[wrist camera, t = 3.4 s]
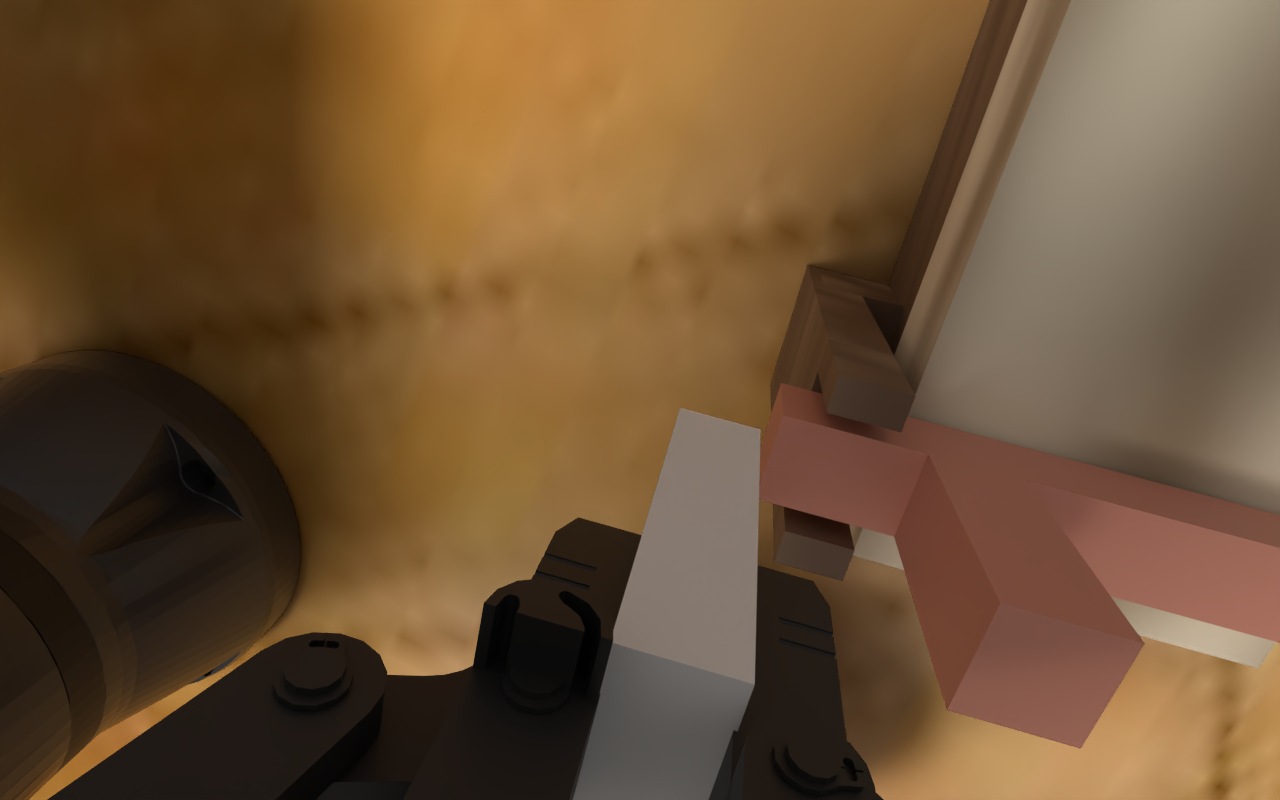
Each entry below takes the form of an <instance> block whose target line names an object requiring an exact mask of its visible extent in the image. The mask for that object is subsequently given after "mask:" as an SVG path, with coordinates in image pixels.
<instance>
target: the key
mask: <svg viewBox="0 0 1280 800" xmlns="http://www.w3.org/2000/svg"><path fill="white" fill-rule="evenodd" d="M759 500H762V501H766V502H769V503H773V504H777V505H780V506H784V507H788V508H791V509H795V510H799V511H802V512H806V513H809V514H813V515H817V516H820V517H824V518H828V519H831V520H835V521H839V522H842V523H846V524H849V525H853V526H857V527H860V528H864V529H868V530H871V531H875V532H879V533H882V534H886V535H889V536H893V537H894V538H895V541H896V545H897V548H898V551H899V554H900V558H901V561H902V564H903V567H904V571H905V574H906V577H907V581H908V584H909V587H910V590H911V594H912V597H913V600H914V603H915V607H916V610H917V613H918V616H919V620H920V623H921V626H922V630H923V633H924V636H925V639H926V643H927V646H928V649H929V652H930V656H931V659H932V662H933V665H934V669H935V672H936V675H937V679H938V682H939V685H940V688H941V692H942V695H943V698H944V701H945V705H946V708H947V710H949V711H952V712H956V713H959V714H963V715H966V716H970V717H973V718H977V719H980V720H984V721H987V722H990V723H994V724H997V725H1001V726H1004V727H1008V728H1011V729H1015V730H1018V731H1022V732H1025V733H1029V734H1032V735H1036V736H1039V737H1043V738H1046V739H1049V740H1053V741H1056V742H1060V743H1063V744H1067V745H1070V746H1074V747H1077V748H1081V747H1082V746H1083V744H1084V742H1085V741H1086V739H1087V737H1088V736H1089V734H1090V733H1091V731H1092V729H1093V728H1094V726H1095V724H1096V723H1097V721H1098V719H1099V718H1100V716H1101V714H1102V713H1103V711H1104V709H1105V708H1106V706H1107V704H1108V703H1109V701H1110V700H1111V698H1112V696H1113V695H1114V693H1115V691H1116V690H1117V688H1118V686H1119V685H1120V683H1121V681H1122V680H1123V678H1124V676H1125V675H1126V673H1127V672H1128V670H1129V668H1130V667H1131V665H1132V663H1133V662H1134V660H1135V658H1136V657H1137V655H1138V653H1139V652H1140V650H1141V648H1142V647H1143V645H1144V644H1145V643H1144V642H1143V641H1142V639H1141V638H1140V636H1139V635H1138V634H1137V632H1136V631H1135V630H1134V628H1133V627H1132V625H1131V624H1130V623H1129V621H1128V620H1127V618H1126V617H1125V616H1124V614H1123V613H1122V611H1121V610H1120V609H1119V607H1118V606H1117V604H1116V603H1115V602H1114V600H1113V599H1112V598H1111V597H1115V598H1119V599H1122V600H1126V601H1129V602H1133V603H1137V604H1140V605H1144V606H1148V607H1151V608H1155V609H1159V610H1162V611H1166V612H1169V613H1173V614H1177V615H1180V616H1184V617H1188V618H1191V619H1195V620H1199V621H1202V622H1206V623H1209V624H1213V625H1217V626H1220V627H1224V628H1228V629H1231V630H1235V631H1239V632H1242V633H1246V634H1249V635H1253V636H1257V637H1260V638H1264V639H1268V640H1271V641H1275V642H1279V643H1280V515H1278V514H1275V513H1271V512H1267V511H1263V510H1260V509H1256V508H1252V507H1248V506H1244V505H1241V504H1237V503H1233V502H1229V501H1226V500H1222V499H1218V498H1214V497H1210V496H1207V495H1203V494H1199V493H1195V492H1192V491H1188V490H1184V489H1180V488H1176V487H1173V486H1169V485H1165V484H1161V483H1158V482H1154V481H1150V480H1146V479H1142V478H1139V477H1135V476H1131V475H1127V474H1123V473H1120V472H1116V471H1112V470H1108V469H1105V468H1101V467H1097V466H1093V465H1089V464H1086V463H1082V462H1078V461H1074V460H1071V459H1067V458H1063V457H1059V456H1055V455H1052V454H1048V453H1044V452H1040V451H1037V450H1033V449H1029V448H1025V447H1021V446H1018V445H1014V444H1010V443H1006V442H1003V441H999V440H995V439H991V438H987V437H984V436H980V435H976V434H972V433H969V432H965V431H961V430H957V429H953V428H950V427H946V426H942V425H938V424H935V423H931V422H927V421H923V420H919V419H916V418H912V417H907V419H906V422H905V424H904V427H903V429H902V432H897V431H893V430H890V429H886V428H882V427H878V426H875V425H871V424H867V423H863V422H859V421H856V420H852V419H848V418H844V417H841V416H837V415H833V414H829V413H826V409H825V404H824V399H823V394H821V393H817V392H814V391H810V390H806V389H802V388H798V387H795V386H791V385H787V384H783V383H781V385H780V388H779V391H778V394H777V397H776V400H775V403H774V407H773V410H772V413H771V416H770V419H769V422H768V425H767V429H766V432H765V435H764V438H763V441H762V444H761V447H760V477H759Z"/></svg>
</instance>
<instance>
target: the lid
mask: <svg viewBox="0 0 1280 800" xmlns="http://www.w3.org/2000/svg"><path fill="white" fill-rule="evenodd" d="M894 356H895V358H896V360H897V362H898V364H899V366H900V367H901V369H902V371H903V373H904V375H905V377H906V379H907V380H908V382H909V384H910V386H911V388H912V390H913V392H914V393H915V395H916V396H915V399H914V401H913V404H912V407H911V409H910V412H909V414H908V417H912V418H916V419H919V420H923V421H927V422H931V423H935V424H938V425H942V426H946V427H950V428H953V429H957V430H961V431H965V432H969V433H972V434H976V435H980V436H984V437H987V438H991V439H995V440H999V441H1003V442H1006V443H1010V444H1014V445H1018V446H1021V447H1025V448H1029V449H1033V450H1037V451H1040V452H1044V453H1048V454H1052V455H1055V456H1059V457H1063V458H1067V459H1071V460H1074V461H1078V462H1082V463H1086V464H1089V465H1093V466H1097V467H1101V468H1105V469H1108V470H1112V471H1116V472H1120V473H1123V474H1127V475H1131V476H1135V477H1139V478H1142V479H1146V480H1150V481H1154V482H1158V483H1161V484H1165V485H1169V486H1173V487H1176V488H1180V489H1184V490H1188V491H1192V492H1195V493H1199V494H1203V495H1207V496H1210V497H1214V498H1218V499H1222V500H1226V501H1229V502H1233V503H1237V504H1241V505H1244V506H1248V507H1252V508H1256V509H1260V510H1263V511H1267V512H1271V513H1275V514H1278V515H1280V0H1027V3H1026V6H1025V8H1024V11H1023V14H1022V16H1021V19H1020V22H1019V24H1018V27H1017V30H1016V32H1015V35H1014V38H1013V40H1012V43H1011V46H1010V48H1009V51H1008V54H1007V56H1006V59H1005V62H1004V64H1003V67H1002V70H1001V72H1000V75H999V78H998V80H997V83H996V86H995V88H994V91H993V94H992V96H991V99H990V102H989V104H988V107H987V110H986V112H985V115H984V118H983V120H982V123H981V126H980V128H979V131H978V134H977V136H976V139H975V142H974V144H973V147H972V150H971V152H970V155H969V158H968V160H967V163H966V166H965V168H964V171H963V174H962V176H961V179H960V182H959V184H958V187H957V190H956V192H955V195H954V198H953V200H952V203H951V206H950V208H949V211H948V214H947V216H946V219H945V222H944V224H943V227H942V230H941V232H940V235H939V238H938V240H937V243H936V246H935V248H934V251H933V254H932V256H931V259H930V262H929V264H928V267H927V270H926V272H925V275H924V278H923V280H922V283H921V286H920V288H919V291H918V294H917V296H916V299H915V302H914V304H913V307H912V310H911V312H910V315H909V318H908V320H907V323H906V326H905V328H904V331H903V334H902V336H901V339H900V342H899V344H898V347H897V350H896V352H895V355H894ZM850 530H851V535H852V540H853V545H854V550H855V551H854V553H853V556H855V557H859V558H862V559H866V560H869V561H873V562H877V563H880V564H884V565H887V566H891V567H895V568H898V569H902V570H904V567H903V564H902V561H901V558H900V554H899V551H898V548H897V545H896V541H895V538H894V537H893V536H889V535H886V534H882V533H879V532H875V531H871V530H868V529H864V528H860V527H857V526H853V525H850ZM1111 598H1112V599H1113V600H1114V602H1115V603H1116V604H1117V606H1118V607H1119V609H1120V610H1121V611H1122V613H1123V614H1124V616H1125V617H1126V618H1127V620H1128V621H1129V623H1130V624H1131V625H1132V627H1133V628H1134V630H1135V631H1136V632H1137V634H1138V635H1140V636H1143V637H1147V638H1150V639H1154V640H1158V641H1161V642H1165V643H1168V644H1172V645H1176V646H1179V647H1183V648H1186V649H1190V650H1194V651H1197V652H1201V653H1204V654H1208V655H1212V656H1215V657H1219V658H1222V659H1226V660H1230V661H1233V662H1237V663H1241V664H1244V665H1248V666H1251V667H1255V668H1259V667H1260V666H1261V664H1262V663H1263V661H1264V660H1265V658H1266V657H1267V655H1268V654H1269V653H1270V651H1271V650H1272V648H1273V647H1274V645H1275V644H1276V642H1275V641H1271V640H1268V639H1264V638H1260V637H1257V636H1253V635H1249V634H1246V633H1242V632H1239V631H1235V630H1231V629H1228V628H1224V627H1220V626H1217V625H1213V624H1209V623H1206V622H1202V621H1199V620H1195V619H1191V618H1188V617H1184V616H1180V615H1177V614H1173V613H1169V612H1166V611H1162V610H1159V609H1155V608H1151V607H1148V606H1144V605H1140V604H1137V603H1133V602H1129V601H1126V600H1122V599H1119V598H1115V597H1111Z"/></svg>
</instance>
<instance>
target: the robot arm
mask: <svg viewBox="0 0 1280 800" xmlns="http://www.w3.org/2000/svg"><path fill="white" fill-rule="evenodd" d="M760 434H761V429H757V428H754V427H750V426H746V425H743V424H739V423H735V422H731V421H728V420H724V419H720V418H717V417H713V416H709V415H706V414H702V413H698V412H694V411H691V410H687V409H683V408H680V410H679V413H678V417H677V420H676V423H675V427H674V430H673V433H672V437H671V440H670V443H669V447H668V450H667V453H666V457H665V460H664V463H663V467H662V470H661V473H660V477H659V480H658V483H657V487H656V490H655V493H654V497H653V500H652V503H651V507H650V510H649V513H648V517H647V520H646V523H645V527H644V530H643V533H642V535H639V534H635V533H631V532H628V531H624V530H621V529H617V528H614V527H610V526H607V525H603V524H600V523H596V522H592V521H589V520H585V519H582V518H577V519H575V520H574V521H572V522H570V523H569V524H567V525H566V526H564V527H562V528H561V529H559V530H558V531H556V532H555V534H554V536H553V538H552V540H551V542H550V544H549V546H548V548H547V550H546V552H545V555H544V557H543V558H542V560H541V562H540V564H539V566H538V568H537V570H536V573H535V575H533V577H532V579H531V580H522V581H516V582H514V583H511V584H509V585H506V586H504V587H502V588H499V589H497V590H496V591H495V592H494V593H493V594H492V595H491V596H490V597H489V598H488V599H487V600H486V601H485V602H484V606H483V612H482V618H481V624H480V629H479V635H478V641H477V647H476V652H475V658H474V664H473V666H471V667H469V668H467V669H465V670H462V671H458V672H454V673H450V674H446V675H434V676H405V675H387V671H386V668H385V666H384V664H383V661H382V659H381V656H380V654H378V653H377V652H376V651H375V650H373V649H372V648H371V647H370V646H369V645H367V644H366V643H365V642H364V641H361V640H358V639H355V638H352V637H349V636H346V635H343V634H338V633H309V634H304V635H299V636H295V637H290V638H286V639H284V640H282V641H280V642H278V643H276V644H274V645H272V646H270V647H268V648H266V649H264V650H262V651H260V652H259V653H257V654H256V655H254V656H253V657H252V658H250V659H249V660H247V661H246V662H244V663H243V664H242V665H240V666H239V667H237V668H236V669H234V670H233V671H232V672H230V673H229V674H227V675H226V676H224V677H223V678H221V679H220V680H219V681H217V682H216V683H214V684H213V685H211V686H210V687H209V688H207V689H206V690H204V691H203V692H201V693H200V694H198V695H197V696H196V697H194V698H193V699H191V700H190V701H188V702H187V703H186V704H184V705H183V706H181V707H180V708H178V709H177V710H175V711H174V712H173V713H171V714H170V715H168V716H167V717H165V718H164V719H163V720H161V721H160V722H158V723H157V724H155V725H154V726H152V727H151V728H150V729H148V730H147V731H145V732H144V733H142V734H141V735H140V736H138V737H137V738H135V739H134V740H132V741H131V742H129V743H128V744H127V745H125V746H124V747H122V748H121V749H119V750H118V751H117V752H115V753H114V754H112V755H111V756H109V757H108V758H106V759H105V760H104V761H102V762H101V763H99V764H98V765H96V766H95V767H94V768H92V769H91V770H89V771H88V772H86V773H85V774H83V775H82V776H81V777H79V778H78V779H76V780H75V781H73V782H72V783H71V784H69V785H68V786H66V787H65V788H63V789H62V790H61V791H59V792H58V793H56V794H55V795H53V796H52V797H50V798H49V799H48V800H883V799H882V798H881V797H880V796H879V795H878V794H877V793H876V792H875V786H874V783H873V780H872V778H871V775H870V772H869V769H868V767H867V764H866V763H865V762H864V760H863V759H862V758H861V757H860V755H859V754H858V753H857V751H856V750H855V749H854V748H853V746H852V745H851V744H850V743H849V742H848V741H847V740H846V732H845V724H844V716H843V708H842V701H841V693H840V685H839V677H838V669H837V661H836V659H835V654H836V653H835V645H834V637H832V634H833V629H832V621H831V613H830V607H829V605H828V604H827V602H826V600H825V599H824V597H823V596H822V594H821V593H820V591H819V590H818V588H817V587H816V585H815V584H814V582H813V581H811V580H807V579H804V578H800V577H796V576H793V575H789V574H786V573H782V572H779V571H775V570H772V569H768V568H765V567H761V566H757V565H758V521H759V477H760ZM300 554H301V548H300V536H299V529H298V524H297V520H296V515H295V512H294V509H293V505H292V502H291V500H290V497H289V494H288V492H287V490H286V487H285V485H284V483H283V481H282V479H281V477H280V475H279V473H278V471H277V469H276V468H275V466H274V464H273V463H272V461H271V460H270V458H269V456H268V455H267V453H266V452H265V451H264V449H263V448H262V446H261V445H260V444H259V442H258V441H257V440H256V439H255V437H254V436H253V435H252V434H251V432H250V431H249V430H248V429H247V428H246V427H245V426H244V425H243V424H242V422H241V421H240V420H239V419H238V418H237V417H236V416H235V415H234V414H233V413H231V412H230V411H229V410H228V409H227V408H226V407H225V406H224V405H222V404H221V403H220V402H219V401H218V400H216V399H215V398H214V397H213V396H211V395H210V394H209V393H207V392H206V391H204V390H203V389H202V388H200V387H199V386H197V385H196V384H194V383H192V382H191V381H189V380H187V379H186V378H184V377H182V376H180V375H178V374H177V373H175V372H173V371H171V370H169V369H166V368H164V367H162V366H160V365H157V364H155V363H152V362H150V361H147V360H144V359H140V358H137V357H134V356H130V355H125V354H121V353H115V352H109V351H97V350H83V351H72V352H66V353H61V354H57V355H53V356H50V357H47V358H44V359H41V360H38V361H35V362H32V363H29V364H26V365H23V366H20V367H17V368H15V369H12V370H9V371H6V372H4V373H1V374H0V800H29V799H30V798H31V797H32V796H33V795H34V794H35V793H36V792H37V791H38V790H39V789H40V788H41V787H42V786H43V785H44V784H45V783H47V782H48V781H49V780H50V779H51V778H52V777H53V776H54V775H55V774H56V773H57V772H58V771H59V770H60V769H62V768H63V767H64V766H65V765H66V764H67V763H68V762H69V761H70V760H71V759H72V758H73V757H75V756H76V755H77V754H78V753H79V752H80V751H81V750H82V749H83V748H84V747H85V746H86V745H87V744H88V743H89V742H91V741H92V740H93V739H94V738H95V737H96V736H97V735H98V734H100V733H101V732H103V731H105V730H106V729H108V728H110V727H112V726H114V725H116V724H117V723H119V722H121V721H123V720H125V719H127V718H128V717H130V716H132V715H134V714H136V713H138V712H139V711H141V710H143V709H145V708H147V707H149V706H150V705H152V704H154V703H156V702H158V701H160V700H161V699H163V698H165V697H167V696H169V695H170V694H172V693H174V692H176V691H177V690H179V689H181V688H182V687H184V686H186V685H188V684H191V683H195V682H198V681H200V680H203V679H205V678H207V677H209V676H211V675H213V674H216V673H217V672H219V671H221V670H223V669H225V668H226V667H228V666H229V665H231V664H232V663H234V662H235V661H236V660H238V659H239V658H240V657H241V656H243V655H244V654H245V653H246V652H247V651H248V650H249V649H250V648H251V647H252V646H253V645H254V644H255V643H256V642H257V641H258V640H259V639H260V638H261V637H262V636H263V635H264V634H265V633H266V632H267V631H268V630H269V628H270V627H271V626H272V625H273V624H274V623H275V622H276V621H277V620H278V619H279V617H280V616H281V615H282V614H283V612H284V611H285V609H286V608H287V606H288V604H289V602H290V600H291V598H292V595H293V593H294V590H295V587H296V584H297V580H298V575H299V569H300Z"/></svg>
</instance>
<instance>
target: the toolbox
mask: <svg viewBox="0 0 1280 800" xmlns="http://www.w3.org/2000/svg"><path fill="white" fill-rule="evenodd" d="M1026 3H1027V0H990V3H989V6H988V8H987V11H986V14H985V17H984V20H983V22H982V25H981V28H980V31H979V33H978V36H977V39H976V42H975V45H974V47H973V50H972V53H971V56H970V59H969V61H968V64H967V67H966V70H965V73H964V75H963V78H962V81H961V84H960V87H959V89H958V92H957V95H956V98H955V101H954V103H953V106H952V109H951V112H950V114H949V117H948V120H947V123H946V126H945V128H944V131H943V134H942V137H941V140H940V142H939V145H938V148H937V151H936V154H935V156H934V159H933V162H932V165H931V168H930V170H929V173H928V176H927V179H926V181H925V184H924V187H923V190H922V193H921V195H920V198H919V201H918V204H917V207H916V209H915V212H914V215H913V218H912V221H911V223H910V226H909V229H908V232H907V235H906V237H905V240H904V243H903V246H902V249H901V251H900V254H899V257H898V260H897V262H896V265H895V268H894V271H893V274H892V276H891V279H890V282H889V285H884V284H880V283H876V282H872V281H868V280H865V279H861V278H857V277H853V276H849V275H845V274H841V273H837V272H833V271H829V270H825V269H821V268H817V267H813V266H809V265H808V266H807V269H806V272H805V275H804V278H803V282H802V285H801V288H800V291H799V294H798V298H797V301H796V304H795V307H794V311H793V314H792V317H791V320H790V323H789V327H788V330H787V333H786V336H785V339H784V343H783V346H782V349H781V352H780V355H779V359H778V362H777V365H776V368H775V371H774V375H773V378H772V381H771V413H772V410H773V407H774V403H775V400H776V397H777V394H778V391H779V388H780V385H781V383H783V384H787V385H791V386H795V387H798V388H802V389H806V390H810V391H814V392H817V393H821V394H823V399H824V404H825V409H826V413H829V414H833V415H837V416H841V417H844V418H848V419H852V420H856V421H859V422H863V423H867V424H871V425H875V426H878V427H882V428H886V429H890V430H893V431H897V432H902V429H903V427H904V424H905V422H906V419H907V417H908V414H909V412H910V409H911V407H912V404H913V401H914V399H915V396H916V395H915V393H914V392H913V390H912V388H911V386H910V384H909V382H908V380H907V379H906V377H905V375H904V373H903V371H902V369H901V367H900V366H899V364H898V362H897V360H896V358H895V356H894V355H895V352H896V350H897V347H898V344H899V342H900V339H901V336H902V334H903V331H904V328H905V326H906V323H907V320H908V318H909V315H910V312H911V310H912V307H913V304H914V302H915V299H916V296H917V294H918V291H919V288H920V286H921V283H922V280H923V278H924V275H925V272H926V270H927V267H928V264H929V262H930V259H931V256H932V254H933V251H934V248H935V246H936V243H937V240H938V238H939V235H940V232H941V230H942V227H943V224H944V222H945V219H946V216H947V214H948V211H949V208H950V206H951V203H952V200H953V198H954V195H955V192H956V190H957V187H958V184H959V182H960V179H961V176H962V174H963V171H964V168H965V166H966V163H967V160H968V158H969V155H970V152H971V150H972V147H973V144H974V142H975V139H976V136H977V134H978V131H979V128H980V126H981V123H982V120H983V118H984V115H985V112H986V110H987V107H988V104H989V102H990V99H991V96H992V94H993V91H994V88H995V86H996V83H997V80H998V78H999V75H1000V72H1001V70H1002V67H1003V64H1004V62H1005V59H1006V56H1007V54H1008V51H1009V48H1010V46H1011V43H1012V40H1013V38H1014V35H1015V32H1016V30H1017V27H1018V24H1019V22H1020V19H1021V16H1022V14H1023V11H1024V8H1025V6H1026ZM773 528H774V562H776V563H780V564H783V565H787V566H790V567H794V568H797V569H801V570H805V571H808V572H812V573H815V574H819V575H822V576H826V577H830V578H833V579H837V580H840V581H843V579H844V576H845V573H846V571H847V568H848V566H849V563H850V561H851V558H852V556H853V553H854V551H855V550H854V545H853V540H852V535H851V530H850V525H849V524H846V523H842V522H839V521H835V520H831V519H828V518H824V517H820V516H817V515H813V514H809V513H806V512H802V511H799V510H795V509H791V508H788V507H784V506H780V505H777V504H773Z"/></svg>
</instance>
